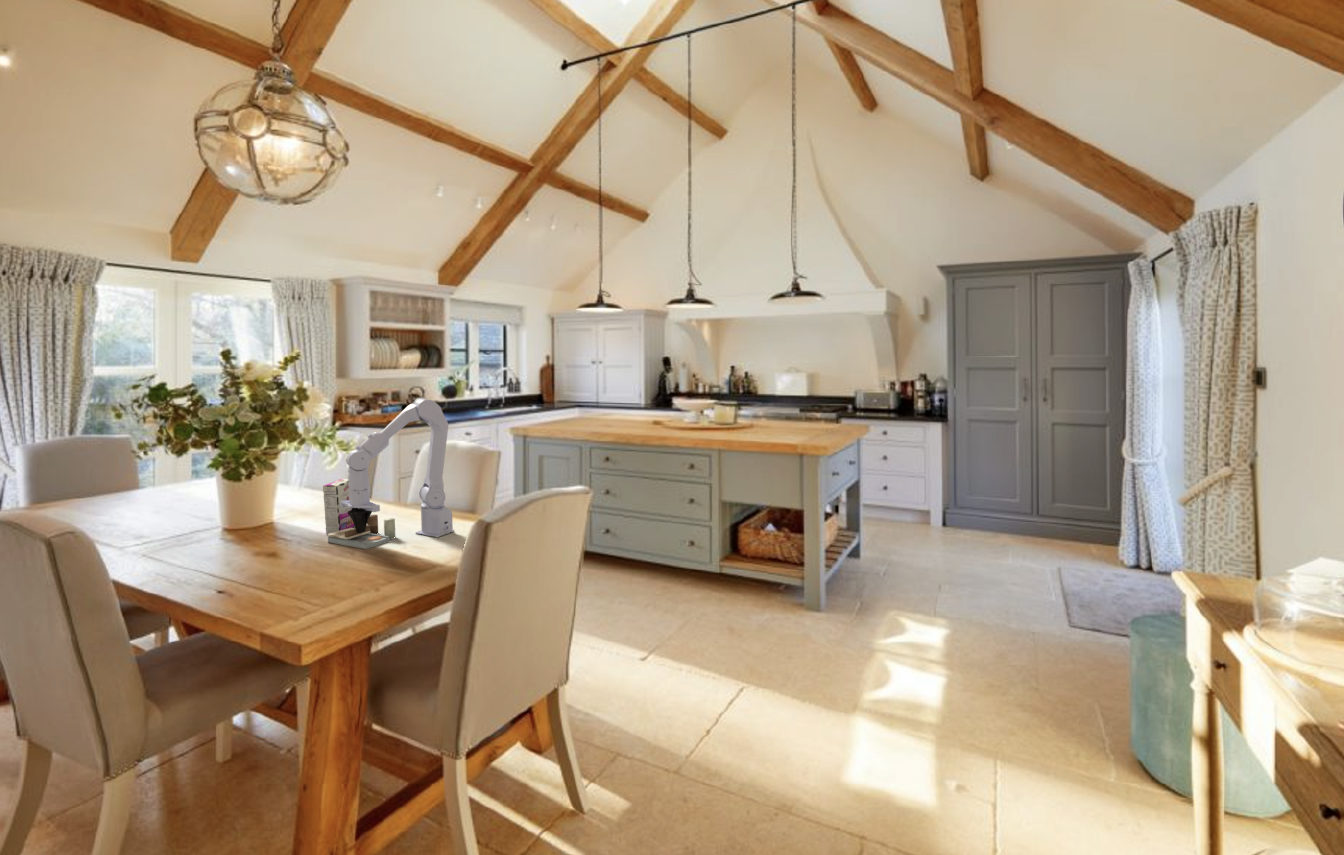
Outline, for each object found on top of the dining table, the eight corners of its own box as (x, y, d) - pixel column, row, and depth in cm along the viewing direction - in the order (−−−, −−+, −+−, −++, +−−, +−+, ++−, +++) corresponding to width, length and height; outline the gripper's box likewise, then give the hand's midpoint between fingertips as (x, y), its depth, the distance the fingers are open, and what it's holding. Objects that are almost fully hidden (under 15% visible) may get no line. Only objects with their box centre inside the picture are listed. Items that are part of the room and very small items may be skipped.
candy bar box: (342, 525, 221) (340, 478, 219) (357, 526, 221) (355, 478, 219) (324, 534, 210) (322, 484, 208) (340, 535, 210) (337, 485, 208)
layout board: (389, 541, 204) (389, 536, 204) (365, 548, 196) (365, 543, 196) (352, 535, 210) (352, 530, 210) (328, 542, 202) (327, 537, 202)
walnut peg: (380, 533, 213) (379, 515, 212) (372, 535, 210) (371, 517, 209) (373, 531, 214) (372, 514, 214) (365, 534, 211) (364, 516, 211)
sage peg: (397, 537, 209) (396, 518, 208) (389, 539, 206) (389, 521, 205) (390, 535, 210) (389, 517, 209) (382, 538, 207) (381, 519, 206)
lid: (370, 532, 207) (370, 525, 206) (347, 539, 199) (346, 531, 199) (351, 529, 210) (350, 522, 210) (327, 536, 202) (327, 528, 202)
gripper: (331, 489, 200) (333, 532, 201) (365, 493, 194) (367, 538, 196) (350, 485, 206) (352, 527, 208) (384, 489, 201) (386, 532, 202)
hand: (361, 532), depth 202 cm, fingers closed
